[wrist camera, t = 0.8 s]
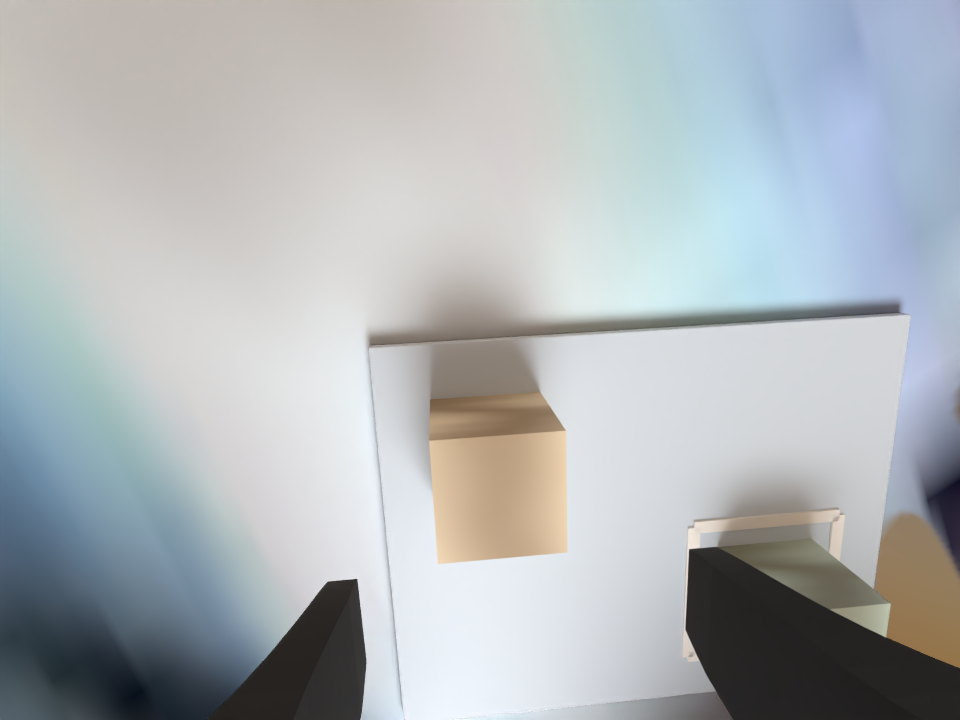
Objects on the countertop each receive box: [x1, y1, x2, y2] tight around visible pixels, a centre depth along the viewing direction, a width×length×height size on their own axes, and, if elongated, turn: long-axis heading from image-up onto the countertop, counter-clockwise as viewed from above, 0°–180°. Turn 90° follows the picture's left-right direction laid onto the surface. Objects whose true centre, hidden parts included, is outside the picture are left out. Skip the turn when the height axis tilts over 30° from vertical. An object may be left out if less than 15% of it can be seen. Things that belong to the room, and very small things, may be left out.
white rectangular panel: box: [368, 313, 911, 720], centre depth 22 cm, size 20×16×1 cm
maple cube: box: [429, 392, 567, 564], centre depth 18 cm, size 4×4×4 cm
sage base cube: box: [718, 539, 891, 637], centre depth 21 cm, size 4×4×4 cm
